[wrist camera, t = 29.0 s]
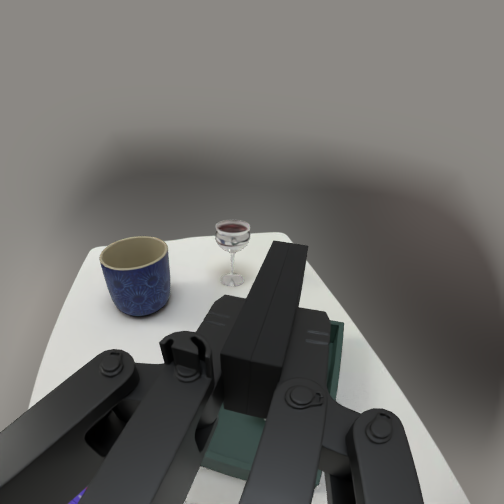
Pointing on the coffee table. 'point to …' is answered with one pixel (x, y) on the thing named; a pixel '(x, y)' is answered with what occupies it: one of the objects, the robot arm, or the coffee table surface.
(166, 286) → the planter
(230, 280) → the wineglass
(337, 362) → the bin
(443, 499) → the coffee table surface
